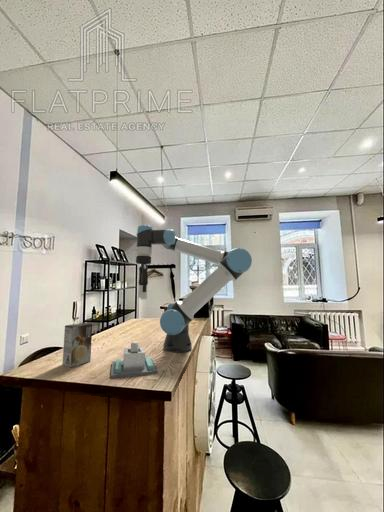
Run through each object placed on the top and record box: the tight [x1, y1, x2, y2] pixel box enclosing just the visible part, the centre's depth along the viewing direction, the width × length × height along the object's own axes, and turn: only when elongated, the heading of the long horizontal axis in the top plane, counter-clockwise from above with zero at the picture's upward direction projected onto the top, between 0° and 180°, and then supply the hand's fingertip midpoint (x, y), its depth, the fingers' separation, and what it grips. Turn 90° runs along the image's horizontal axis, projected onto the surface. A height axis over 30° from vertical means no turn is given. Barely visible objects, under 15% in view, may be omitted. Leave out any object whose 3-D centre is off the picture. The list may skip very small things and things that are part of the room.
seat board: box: [110, 341, 159, 379], centre depth 93 cm, size 17×16×10 cm
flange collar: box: [122, 346, 146, 370], centre depth 93 cm, size 8×8×6 cm
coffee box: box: [61, 322, 93, 368], centre depth 99 cm, size 9×6×16 cm
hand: (142, 298), depth 114 cm, fingers open, 13 cm apart
